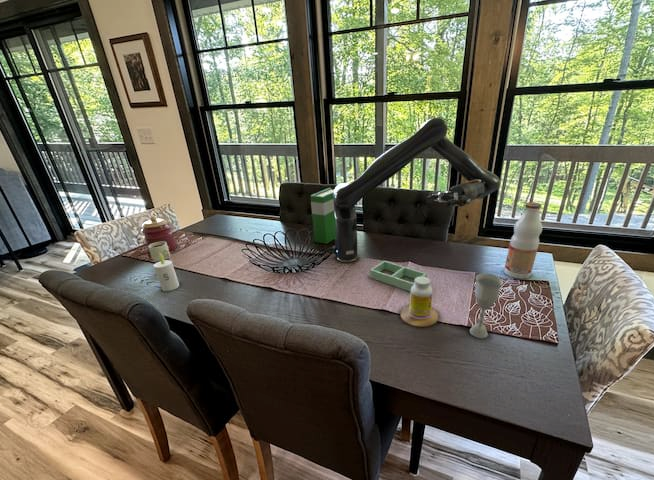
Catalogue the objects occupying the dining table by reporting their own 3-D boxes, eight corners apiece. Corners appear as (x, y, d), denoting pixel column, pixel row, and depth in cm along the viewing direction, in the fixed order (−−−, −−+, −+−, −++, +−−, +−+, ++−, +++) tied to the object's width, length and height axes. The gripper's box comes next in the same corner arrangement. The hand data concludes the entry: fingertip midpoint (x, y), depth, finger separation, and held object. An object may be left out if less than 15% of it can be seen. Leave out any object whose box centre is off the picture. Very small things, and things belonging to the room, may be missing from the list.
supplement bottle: (430, 321, 98) (434, 286, 92) (409, 319, 99) (411, 284, 93) (429, 309, 103) (433, 275, 97) (409, 307, 105) (411, 274, 99)
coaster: (393, 317, 101) (393, 316, 101) (411, 301, 109) (412, 300, 109) (427, 332, 94) (427, 331, 93) (444, 313, 102) (444, 312, 101)
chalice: (462, 325, 96) (470, 274, 87) (483, 323, 96) (494, 272, 88) (473, 341, 89) (483, 287, 81) (496, 339, 90) (508, 285, 81)
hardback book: (332, 230, 175) (329, 187, 164) (343, 232, 172) (341, 188, 161) (314, 241, 162) (310, 195, 151) (326, 243, 158) (323, 197, 147)
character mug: (182, 269, 139) (173, 242, 133) (168, 277, 133) (159, 249, 127) (164, 266, 143) (155, 240, 137) (150, 273, 137) (140, 246, 131)
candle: (162, 292, 121) (149, 258, 114) (162, 285, 127) (150, 252, 120) (179, 288, 124) (168, 254, 117) (179, 281, 129) (168, 248, 122)
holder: (369, 277, 125) (369, 269, 124) (384, 268, 132) (384, 260, 130) (413, 292, 114) (413, 284, 112) (426, 281, 121) (427, 273, 119)
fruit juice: (517, 281, 118) (535, 209, 105) (498, 270, 126) (512, 202, 113) (536, 276, 120) (555, 205, 108) (516, 266, 128) (532, 199, 115)
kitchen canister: (182, 247, 163) (172, 214, 155) (158, 256, 153) (146, 222, 145) (168, 243, 169) (158, 211, 161) (144, 251, 159) (131, 218, 151)
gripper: (448, 181, 122) (421, 188, 114) (482, 186, 112) (455, 194, 103) (446, 200, 126) (420, 208, 117) (478, 206, 116) (453, 216, 107)
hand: (436, 202), depth 110 cm, fingers open, 8 cm apart
